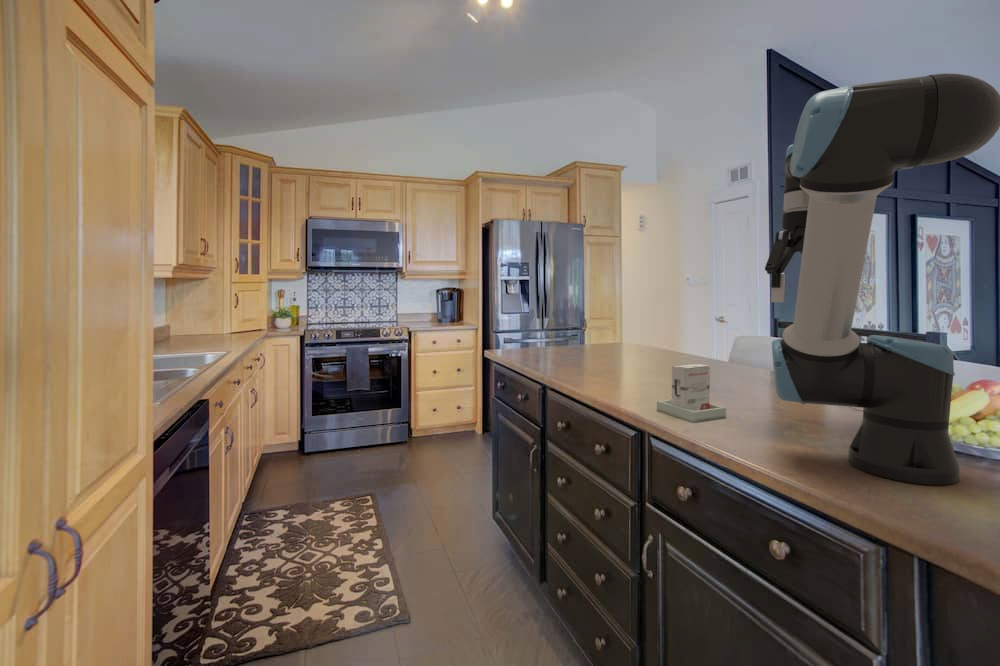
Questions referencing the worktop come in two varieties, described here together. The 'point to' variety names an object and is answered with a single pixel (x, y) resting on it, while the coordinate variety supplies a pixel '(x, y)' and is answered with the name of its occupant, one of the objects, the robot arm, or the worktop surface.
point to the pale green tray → (691, 412)
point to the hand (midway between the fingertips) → (796, 302)
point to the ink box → (691, 386)
